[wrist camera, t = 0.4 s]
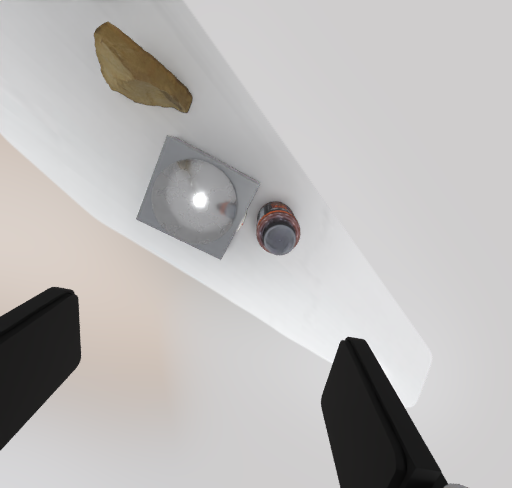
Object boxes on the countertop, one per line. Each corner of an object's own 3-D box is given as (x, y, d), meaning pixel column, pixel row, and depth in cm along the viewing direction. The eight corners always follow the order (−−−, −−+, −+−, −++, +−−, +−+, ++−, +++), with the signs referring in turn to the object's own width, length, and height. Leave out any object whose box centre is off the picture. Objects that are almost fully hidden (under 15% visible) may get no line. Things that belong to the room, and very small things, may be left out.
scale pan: (142, 220, 37) (139, 221, 36) (171, 142, 33) (169, 142, 33) (216, 255, 39) (215, 257, 38) (251, 185, 35) (251, 185, 34)
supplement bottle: (297, 205, 40) (311, 223, 30) (287, 239, 42) (297, 267, 32) (261, 196, 40) (262, 211, 29) (253, 231, 42) (251, 257, 31)
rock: (210, 85, 33) (149, 7, 29) (172, 111, 28) (92, 21, 24) (175, 130, 41) (124, 73, 37) (140, 157, 36) (77, 94, 32)
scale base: (147, 213, 41) (136, 219, 37) (176, 137, 37) (167, 135, 33) (226, 251, 43) (223, 261, 39) (262, 183, 39) (262, 186, 35)
